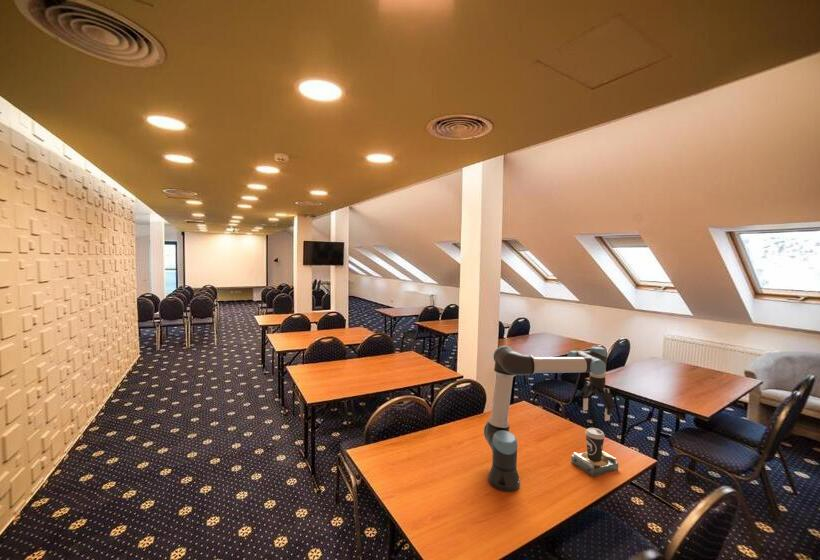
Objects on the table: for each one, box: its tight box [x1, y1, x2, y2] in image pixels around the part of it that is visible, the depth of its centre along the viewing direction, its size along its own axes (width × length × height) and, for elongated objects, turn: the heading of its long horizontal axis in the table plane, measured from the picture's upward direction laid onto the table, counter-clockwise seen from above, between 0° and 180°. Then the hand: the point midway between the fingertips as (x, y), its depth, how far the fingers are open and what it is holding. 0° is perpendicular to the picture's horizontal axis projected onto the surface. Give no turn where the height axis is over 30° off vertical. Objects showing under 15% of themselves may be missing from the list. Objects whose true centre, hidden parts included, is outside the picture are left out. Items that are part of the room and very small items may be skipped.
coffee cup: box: [584, 427, 606, 462], centre depth 185 cm, size 10×10×15 cm
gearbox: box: [570, 450, 619, 478], centre depth 185 cm, size 19×14×6 cm
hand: (595, 415), depth 185 cm, fingers open, 13 cm apart
